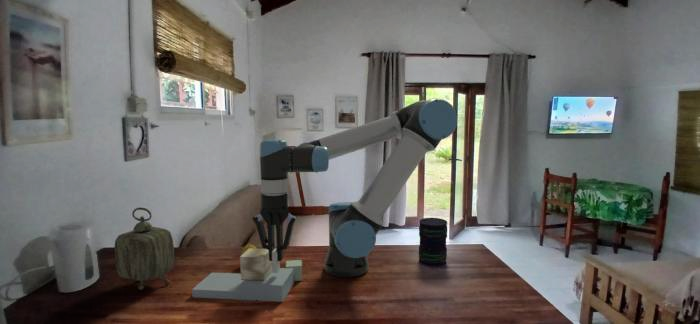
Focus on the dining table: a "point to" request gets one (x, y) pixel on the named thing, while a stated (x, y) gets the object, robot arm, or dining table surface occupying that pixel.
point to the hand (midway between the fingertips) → (276, 271)
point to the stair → (246, 286)
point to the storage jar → (432, 242)
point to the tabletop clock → (144, 252)
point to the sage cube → (295, 268)
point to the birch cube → (255, 264)
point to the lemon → (248, 248)
